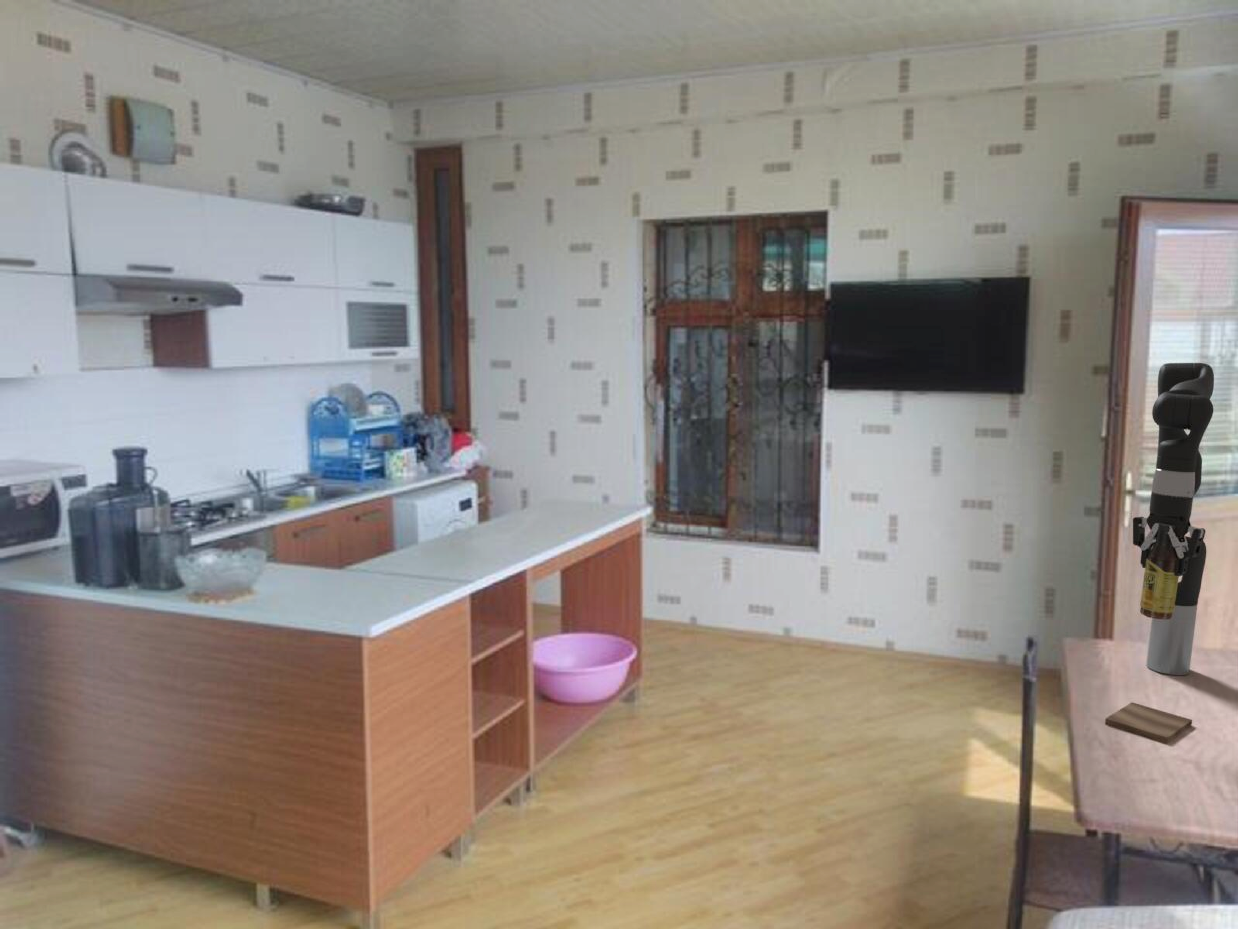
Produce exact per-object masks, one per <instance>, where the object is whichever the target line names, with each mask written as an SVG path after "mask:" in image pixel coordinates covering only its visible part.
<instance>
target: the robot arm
mask: <svg viewBox="0 0 1238 929" xmlns="http://www.w3.org/2000/svg"><path fill="white" fill-rule="evenodd" d="M1214 384H1215V375H1214V370H1213V368H1212V366H1210V364H1207V363H1205V362H1204V363H1203V362H1169V363H1164V364H1162V365H1161V366H1160V367H1159V370H1158V376H1157V398H1156V400H1155V401H1154V403H1153V406H1152V410H1151V411H1152V412H1151V413H1152V419H1153V421H1154V423H1155V424H1156V425H1158V443H1157V453H1156V454H1157V455H1156V463H1155V471H1154V475H1153V479H1152V483H1151V484H1152V485H1151V494H1150V500H1149V507H1148V508H1149V509H1148V510H1149V515H1148V516H1147V517H1144V516H1137V517H1136V516H1135V517H1133V518H1132V544H1133V545H1134V546H1136V547H1138V548H1140V549H1141V554H1140V562H1139V563H1140V565H1141V568H1143V569H1145V566H1146V559H1147V557H1148V555H1149V553H1150V551H1151V549H1152V548H1153V546H1154V544H1155V542H1156V538H1157V532H1158V527H1159V523H1164V524H1168V525H1173V526H1175V527H1176V528H1175V530H1174V528H1173V527H1172V526H1170V530H1169V532H1168V534H1169V536H1170V539H1171V542H1172V545H1173V547H1174V548H1175V549H1176V552H1177V555H1178V557H1179V558H1176V566H1175V576H1179V577H1181V580H1180V581H1178V585H1177V592H1176V599H1175V605H1174V611H1173V612H1172V618H1170V619H1167V620H1165V619H1155V618H1151V624H1150V630H1149V640H1148V648H1147V656H1146V657H1147V658H1146V667H1147V668H1148V669H1150V670H1151V671H1155V672H1158V673H1161V674H1167V675H1171V676H1173V675H1174V676H1186V675H1189V674H1190V668H1191V662H1192V652H1193V645H1194V638H1195V637H1194V636H1195V630H1196V629H1195V628H1196V622H1197V621H1196V620H1197V613H1198V612H1197V611H1198V605H1199V598H1200V593H1201V587H1202V582H1203V576H1204V571H1205V566H1206V565H1205V564H1206V561H1207V560H1206V559H1207V546H1206V543H1205V541H1204V540H1205V536H1206V529H1205V528H1203V527H1200V528H1199V527H1195V526H1192V525H1191V522H1190V520H1191V515H1192V510H1193V502H1194V497H1195V495H1196V494H1197V492H1198V491H1199V489H1200V487H1201V485H1202V475H1203V474H1202V471H1203V458H1202V457H1203V456H1202V455H1201V453H1200V451H1199V450H1200V449H1199V448H1200V445H1201V442H1202V439H1203V437H1204V434H1205V433H1206V430H1207V429H1208V426H1209V424H1210V422H1211V420H1212V419H1213V414H1214V404H1213V403H1212V401H1211V398H1212V396H1213V393H1214V389H1215V388H1214V386H1215V385H1214ZM1185 430H1186V431H1187V430H1188V431H1189V433H1187V432H1186V431H1185ZM1147 526H1148V528H1149V530H1150V531H1149V532H1148V534H1147V535H1146V528H1147ZM1188 533H1189V536H1186V535H1187V534H1188Z"/></svg>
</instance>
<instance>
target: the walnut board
mask: <svg viewBox="0 0 1238 929" xmlns="http://www.w3.org/2000/svg"><path fill="white" fill-rule="evenodd" d="M1104 722H1105V725H1107V726H1111V727H1114V728H1117V729H1120V730H1123V731H1126V732H1130V733H1133V734H1136V735H1138V736H1142V737H1145V738H1149V739H1152V740H1154V741H1158V742H1162V743H1165V744H1168V743H1169V742H1171V741H1172V740H1173V739H1175V738H1176V737H1178V736H1179V735H1181V734H1182V733H1183V732H1185V731H1186V730H1187V729H1189V728H1190V727H1191V726H1192V725H1193V719H1190V718H1187V717H1183V716H1181V715H1176V714H1174V713H1170V712H1166V711H1163V710H1161V709H1160V710H1159V709H1156V708H1153V707H1149V706H1146V705H1143V704H1139V703H1136V702H1130V703H1129V704H1127V705H1125V706H1123V707H1121V708H1120V709H1119V710H1117V711H1116V712H1114V713H1112V714H1111V715H1109V716H1107V717H1105V721H1104Z"/></svg>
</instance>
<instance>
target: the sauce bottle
mask: <svg viewBox="0 0 1238 929" xmlns="http://www.w3.org/2000/svg"><path fill="white" fill-rule="evenodd" d="M1170 526H1172V527H1173V528H1174V530H1175V528H1176V527H1175V526H1173V525H1168V524H1164V523H1159V527H1158V532H1157V538H1156V542H1155V544H1154V546H1153V548H1152V549H1151V551H1150V553H1149V555H1148V557H1147V559H1146V566H1145V568H1144V574H1143V581H1142V587H1141V588H1142V589H1141V596H1140V597H1141V598H1140V603H1139V606H1140V610H1139V611H1140V614H1141V615H1144V616H1145V617H1147V618H1149V619H1152V618H1155V619H1165V620H1167V619H1170V618H1172V612H1173V611H1174V605H1175V599H1176V592H1177V585H1178V582H1179V578H1180V576H1175V566H1176V558H1179V557H1178V555H1177V552H1176V549H1175V548H1174V547H1173V545H1172V542H1171V539H1170V536H1169V534H1168V532H1169V530H1170Z"/></svg>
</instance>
